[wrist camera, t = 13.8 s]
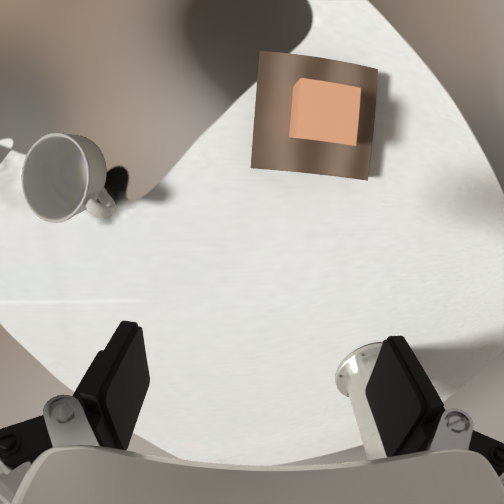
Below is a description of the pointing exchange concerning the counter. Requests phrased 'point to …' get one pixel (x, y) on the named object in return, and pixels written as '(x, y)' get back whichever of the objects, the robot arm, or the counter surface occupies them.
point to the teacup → (65, 178)
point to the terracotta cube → (325, 111)
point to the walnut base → (279, 115)
